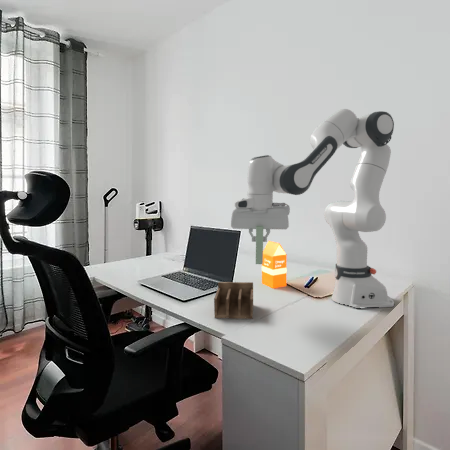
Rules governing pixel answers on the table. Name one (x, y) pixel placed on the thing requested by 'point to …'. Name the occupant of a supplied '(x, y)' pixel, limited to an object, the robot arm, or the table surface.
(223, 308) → the file sorter
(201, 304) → the table surface
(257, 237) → the board
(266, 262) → the orange juice
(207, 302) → the table surface
